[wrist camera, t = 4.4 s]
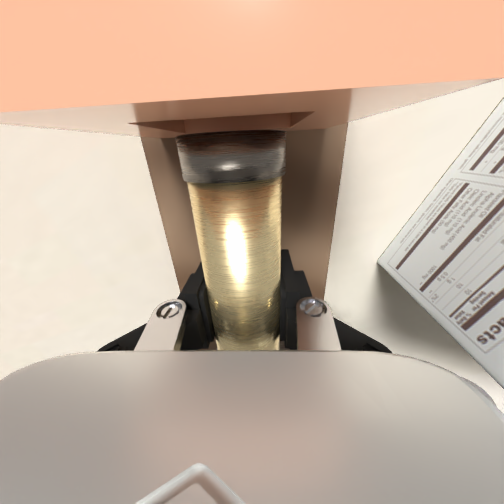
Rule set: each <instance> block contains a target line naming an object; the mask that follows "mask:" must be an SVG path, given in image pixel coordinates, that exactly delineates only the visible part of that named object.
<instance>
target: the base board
mask: <svg viewBox="0 0 504 504" xmlns="http://www.w3.org/2000/svg"><path fill="white" fill-rule="evenodd" d="M347 127H348V122H347V123H344V124H340V125H337V126H333V127H330V128H326V129H312V130H295V131H286V160H285V175H283V176H282V211H281V249H288V250H289V254H290V257H291V261H292V265H293V268H294V271H301V270H303V271H304V273H305V276H306V279H307V282H308V284H309V287H310V290H311V293H312V296H313V297H316V298H319V299H322V300H324V293H325V286H326V279H327V272H328V264H329V257H330V250H331V243H332V235H333V228H334V221H335V214H336V206H337V199H338V192H339V185H340V178H341V170H342V163H343V156H344V149H345V141H346V134H347ZM141 141H142V144H143V148H144V152H145V156H146V160H147V164H148V168H149V172H150V176H151V179H152V183H153V187H154V191H155V195H156V199H157V203H158V207H159V211H160V215H161V218H162V222H163V226H164V230H165V234H166V238H167V242H168V246H169V250H170V253H171V257H172V261H173V265H174V269H175V273H176V277H177V281H178V285H179V289H180V292H181V291H182V289H183V287H184V286H185V284H186V282H187V280H188V278H189V277H190V275H191V274H192V273H195V272H196V270H197V268H198V266H199V264H200V262H201V256H200V250H199V245H198V239H197V234H196V228H195V223H194V217H193V212H192V206H191V201H190V196H189V190H188V185H187V182H186V181H184V180H183V176H182V170H181V165H180V160H179V154H178V149H177V144H176V139H175V138H151V137H141ZM200 350H217V343H216V337H215V338H214V341H213V342H210V345H209V348H208V349H200ZM289 350H290V349H289Z"/></svg>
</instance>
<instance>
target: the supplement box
mask: <svg viewBox="0 0 504 504" xmlns="http://www.w3.org/2000/svg"><path fill="white" fill-rule="evenodd" d="M377 262H378V264H380V265H381V266H382V267H383V268H384V269H385V270H386V271H387V272H388V273H389V274H390V275H391V276H392V277H393V278H394V279H395V280H396V281H397V282H398V283H399V284H400V285H401V286H402V287H403V288H404V289H405V290H406V291H407V292H408V293H409V294H410V295H411V296H412V297H413V298H414V299H415V300H416V301H417V302H418V303H419V304H420V305H421V306H422V307H423V308H424V309H425V310H426V311H427V312H428V313H429V314H430V315H431V316H432V317H433V318H434V319H435V320H436V322H437V323H438V324H440V325H441V326H442V327H443V328H444V329H445V330H446V331H447V332H448V333H449V334H450V335H451V336H452V337H453V338H454V339H455V341H456V342H457V343H458V344H459V345H460V346H461V347H462V348H463V349H465V350H466V351H467V352H468V353H469V354H470V355H471V356H472V357H473V358H474V359H475V360H476V361H477V362H478V363H479V364H480V365H481V366H482V367H483V368H484V370H485V371H486V372H487V373H488V374H489V375H490V376H491V377H492V378H493V379H494V380H495V381H496V382H497V383H498V384H499V385H500V386H501V387H502V388H503V389H504V98H503V100H502V101H501V102H500V103H499V105H498V106H497V107H496V109H495V110H494V111H493V112H492V114H491V115H490V116H489V118H488V119H487V120H486V121H485V123H484V124H483V125H482V127H481V128H480V129H479V130H478V132H477V133H476V134H475V136H474V137H473V138H472V139H471V141H470V142H469V143H468V145H467V146H466V147H465V148H464V150H463V151H462V152H461V154H460V155H459V156H458V157H457V159H456V160H455V161H454V163H453V164H452V165H451V166H450V168H449V169H448V170H447V172H446V173H445V174H444V175H443V177H442V178H441V179H440V181H439V182H438V183H437V184H436V186H435V187H434V188H433V190H432V191H431V192H430V193H429V195H428V196H427V197H426V199H425V200H424V201H423V202H422V204H421V205H420V206H419V208H418V209H417V210H416V211H415V213H414V214H413V215H412V217H411V218H410V219H409V220H408V222H407V223H406V224H405V226H404V227H403V228H402V229H401V231H400V232H399V233H398V235H397V236H396V237H395V238H394V240H393V241H392V242H391V244H390V245H389V246H388V248H387V249H386V250H385V251H384V253H383V254H382V255H381V257H380V258H379V259H378V261H377Z"/></svg>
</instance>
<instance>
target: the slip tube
mask: <svg viewBox="0 0 504 504" xmlns="http://www.w3.org/2000/svg"><path fill="white" fill-rule="evenodd" d="M175 139H176V144H177V149H178V154H179V160H180V165H181V170H182V176H183V180H184V181H186V182H187V185H188V190H189V196H190V201H191V206H192V212H193V217H194V223H195V228H196V234H197V239H198V245H199V250H200V256H201V261H202V266H203V272H204V277H205V283H206V288H207V294H208V299H209V305H210V310H211V316H212V321H213V326H214V332H215V337H216V343H217V348H218V350H279V316H280V272H281V211H282V176H283V175H285V160H286V131H284V130H237V131H218V132H204V133H194V134H185V135H179V136H176V137H175Z"/></svg>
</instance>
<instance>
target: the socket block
mask: <svg viewBox="0 0 504 504" xmlns="http://www.w3.org/2000/svg"><path fill="white" fill-rule="evenodd" d="M502 78H504V0H0V124H5V125H17V126H28V127H39V128H50V129H61V130H73V131H84V132H95V133H106V134H118V135H129V136H140V137H151V138H175V137H176V136H179V135H185V134H194V133H204V132H218V131H237V130H284V131H295V130H312V129H326V128H330V127H333V126H337V125H340V124H344V123H347V122H351V121H354V120H358V119H362V118H365V117H369V116H372V115H376V114H379V113H383V112H386V111H390V110H393V109H397V108H400V107H404V106H407V105H411V104H414V103H418V102H421V101H425V100H428V99H432V98H435V97H439V96H442V95H446V94H449V93H453V92H456V91H460V90H463V89H467V88H470V87H474V86H477V85H481V84H484V83H488V82H491V81H495V80H498V79H502Z"/></svg>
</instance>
